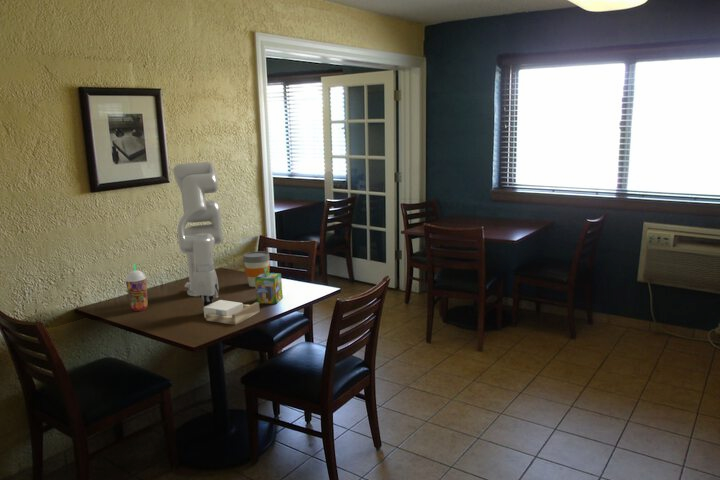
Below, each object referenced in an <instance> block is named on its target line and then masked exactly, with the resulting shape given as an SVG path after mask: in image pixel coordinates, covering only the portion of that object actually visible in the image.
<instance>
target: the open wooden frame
mask: <svg viewBox="0 0 720 480" xmlns="http://www.w3.org/2000/svg"><path fill="white" fill-rule="evenodd" d="M260 311H261V310H260V304H259V303H258V302H257V301H256V302H254V303H252V304H248V303H247V304H244V303H243V309H242V310H240V311H238V312H236V313H234V314H232V317H231V316H224V315H216V314H209V313H208V314H206V318H205V320H206V321H207V322H215V323H221V324H228V325H238V324H240V323H242V322H244V321H245V320H247V319H250V318H251V317H253V316H254V315H257V314H258V313H260Z"/></svg>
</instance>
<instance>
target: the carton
mask: <svg viewBox="0 0 720 480" xmlns="http://www.w3.org/2000/svg"><path fill="white" fill-rule="evenodd" d="M243 304H244V303H243V302H239V301H238V302H237V301H230V300H224V299H218V300H217V301H214V302H212V304H209V305H207V306H205V307H204V306H203V316H204V319H206V314H208V313H209V314H216V315H224V316H231V317H232V314H234V313H236V312H238V311H240V310H242V309H243Z"/></svg>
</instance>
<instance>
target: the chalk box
mask: <svg viewBox="0 0 720 480" xmlns="http://www.w3.org/2000/svg"><path fill="white" fill-rule="evenodd" d="M266 270H267V271H268V273H266ZM255 285H256V287H255V293H256V302H258V303H259V305H261V304H265V305H266V304H271V305H273V304H274V305H276V304H278V303H279V302H280V301H281V300H283V297H284V295H283V287H282V285H283V283H282V273H276V272H270V269H269V270H268V267H266V268H265V269H264V273H262V274H260V275H259V276H257V277H256V278H255Z"/></svg>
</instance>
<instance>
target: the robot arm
mask: <svg viewBox="0 0 720 480" xmlns="http://www.w3.org/2000/svg"><path fill="white" fill-rule="evenodd" d="M172 170H173V171H172V172H173V176H174V177H173V178H174V180H175V182H176V184H177V187H178V188H179V191H180V193H181V200H182V201H181V202H182V209H183V215H182V216H181V218H180V220H179V221H178V225H177V238H178V245H179V250H180V252H182V253H183V254H186V259H187V269H188V279H189V281H187V282H186V283H185V284H184V288H187V289H188V290H187V291H186V294H187V295H188V296H189V297H200V299H201V301H202V302H203V307H205V306H207V305H209V304H212V303H213V301H214V299H216V298H219V292H220V287H219V280H218V276H217V271H216V270H215V264H214V263H215V262H214V254H213V253H214V252H213V249H214V247H215V245H219V244H221V243H222V242H223V239H224V238H223V234H224V233H223V227H222V226H223V225H222V218H221V210H220V209H221V208H220V205H219V203H218V202H217V201H216V200H214V199H213V200H212V199H208V200H206V195H205V194H213V193H216V192H217V191H218V189H219V182H218V176H217V172H216V169H215V167H214V164H213V163H212V162H208V161H207V162H206V161H205V162H186V163H185V162H184V163H180V164H176V165H174V167H173V169H172ZM206 222H208V223H209V222H210V223H209V224H197V225H190V226H187V224H188V223H189V224H190V223H192V224H193V223H206ZM186 226H187V227H186Z"/></svg>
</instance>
